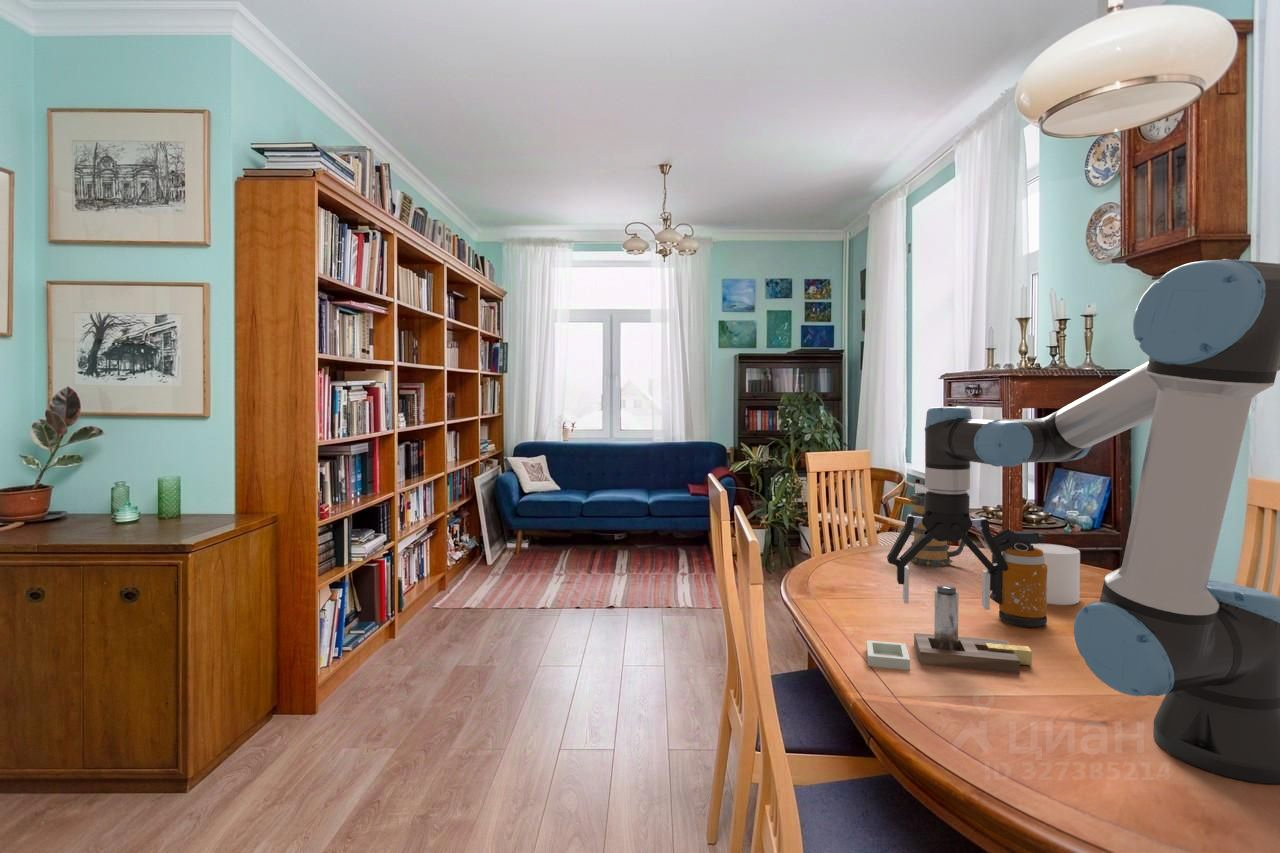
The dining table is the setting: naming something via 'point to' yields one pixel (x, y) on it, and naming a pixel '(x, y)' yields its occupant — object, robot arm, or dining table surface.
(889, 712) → the dining table surface
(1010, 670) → the socket block
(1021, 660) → the bar
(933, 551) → the mug
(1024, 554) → the canister
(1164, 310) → the robot arm
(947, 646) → the metal round-nosed cylinder
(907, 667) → the pale grey square tray
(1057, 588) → the cup
